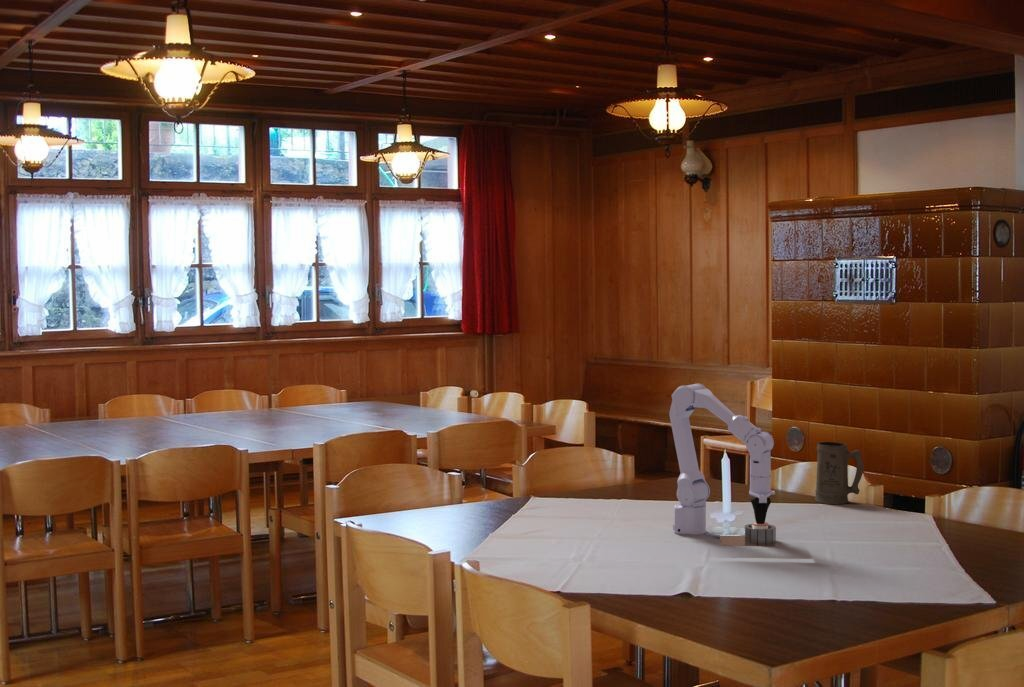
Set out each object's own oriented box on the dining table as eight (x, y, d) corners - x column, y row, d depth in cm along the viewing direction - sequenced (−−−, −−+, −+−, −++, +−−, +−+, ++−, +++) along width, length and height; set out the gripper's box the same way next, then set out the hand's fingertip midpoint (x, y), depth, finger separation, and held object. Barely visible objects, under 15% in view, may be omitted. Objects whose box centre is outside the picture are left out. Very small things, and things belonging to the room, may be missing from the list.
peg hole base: (722, 549, 322) (722, 531, 321) (718, 538, 335) (718, 521, 334) (778, 549, 320) (778, 531, 320) (772, 539, 333) (772, 522, 333)
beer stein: (811, 503, 386) (816, 443, 384) (813, 497, 396) (817, 439, 394) (860, 508, 381) (864, 448, 380) (860, 502, 391) (864, 444, 390)
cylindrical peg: (752, 542, 325) (753, 524, 325) (751, 538, 329) (751, 521, 329) (768, 542, 325) (769, 524, 324) (767, 539, 329) (767, 521, 329)
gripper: (777, 480, 318) (778, 529, 319) (771, 471, 333) (771, 518, 333) (751, 480, 319) (751, 529, 320) (746, 471, 333) (746, 518, 334)
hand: (760, 523), depth 327 cm, fingers closed, pressing on cylindrical peg
